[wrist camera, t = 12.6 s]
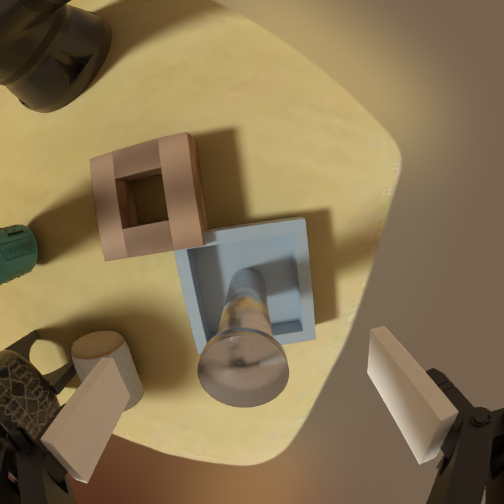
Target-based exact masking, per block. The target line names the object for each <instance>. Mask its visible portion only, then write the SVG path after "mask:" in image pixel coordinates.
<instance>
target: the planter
mask: <svg viewBox="0 0 504 504" xmlns="http://www.w3.org/2000/svg"><path fill="white" fill-rule="evenodd" d="M38 337H39V335H38V334H37V332H36V331H35V330H34V331H33V332H31V333H29V334H28V335H26V336H25V337H23V338H21V339H20V340H18V341H17V342H15V343H14V344H12V345H10V346H9V347H7V348H6V349H4V350H2V351H0V437H2V438H4V439H5V440H6V438H5V437H6V434H7V432H8V431H9V430H10V429H11V428H13V427H15V426H23V427H24V428H25V429H26V430H27V431H28V432H29V434H30V435H31V436H32V438H33V439H34V440H35V439H36V437H37V436H38V435H39V433H40V432H41V431H42V429H43V428H44V426H45V425H46V424H47V422H49V420H50V418H51V417H53V414H54V413H55V412H56V410H57V409H58V408H60V407H61V406H60V403H59V401H58V399H57V394H60V392H61V391H62V390H63V389H64V387H65V386H66V385H67V384H68V383H69V381H70V380H71V379H72V378H73V376H74V375H75V374H76V373H77V371H76V369H75V366H74V363H73V359H72V360H70V361H69V362H68V363H67V364H65V365H64V366H62V367H61V368H59V369H57V370H55V371H53V372H51V373H49V374H46V375H42V374H41V373H40V372H39V371H38V370H37V368H36V367H35V366H34V365H33V364H32V363H31V362H30V359H29V353H30V348H31V346H32V345H33V344H34V343H35V341H36V340H37V339H38ZM6 441H7V440H6ZM7 442H8V441H7ZM8 443H9V442H8ZM9 445H10V443H9ZM10 446H11V445H10Z"/></svg>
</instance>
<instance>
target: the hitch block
mask: <svg viewBox="0 0 504 504" xmlns="http://www.w3.org/2000/svg"><path fill="white" fill-rule="evenodd" d="M90 170H91V180H92V189H93V197H94V204H95V211H96V217H97V223H98V229H99V234H100V240H101V245H102V250H103V254H104V259H105V261H111V260H117V259H123V258H130V257H136V256H142V255H148V254H155V253H161V252H168V251H174V250H181V249H187V248H194V247H201V246H204V245H205V238H204V232H206V231H207V230H208V229H209V227H208V221H207V215H206V208H205V202H204V195H203V189H202V182H201V175H200V168H199V160H198V153H197V145H196V140H195V139H194V138H193V137H191V136H190V135H189V134H188V133H187V132H184V133H179V134H175V135H171V136H166V137H162V138H158V139H154V140H151V141H147V142H143V143H140V144H136V145H133V146H129V147H126V148H123V149H119V150H116V151H113V152H110V153H107V154H104V155H101V156H98V157H95V158H92V159H90ZM159 174H162V178H163V185H164V192H165V199H166V205H167V211H168V218H169V219H167V220H162V221H157V222H151V223H146V224H141V225H139V223H138V217H137V211H136V204H135V197H134V190H133V183H132V181H134V180H138V179H142V178H146V177H150V176H155V175H159Z"/></svg>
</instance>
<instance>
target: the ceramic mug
mask: <svg viewBox="0 0 504 504" xmlns="http://www.w3.org/2000/svg"><path fill="white" fill-rule="evenodd" d="M71 354H72V359H73V363H74V366H75V369H76V371H77V374H78V376H79V379H80V382H81V384H82V382H83V381H84V380H85V378H86V377H87V376H88V375H89V373H90V372H91V371H92V370H93V368H94V367H95V366H96V365H97V363H98V362H99V361H100V360H101V358H113V359H114V361H115V363H116V366H117V368H118V370H119V373H120V375H121V377H122V379H123V382H124V384H125V386H126V388H127V390H128V392H129V394H130V396H131V397H130V399H129V401H128V403H127V405H126V407H125V409H124V410H123V412H124V411H126V410H128V409H130V408H132V407H134V406H135V405H136V404H137V403H138V402H139V401H140V400H141V398H142V396H143V393H144V388H143V385H142V383H141V380H140V378H139V375H138V373H137V370H136V367H135V365H134V362H133V359H132V356H131V353H130V350H129V347H128V345H127V343H126V341H125V339H124V338H123V336H122V335H121V334H119V333H117V332H115V331H110V330H104V331H97V332H93V333H89V334H87V335H84V336H82V337H80V338H79V339H77V340H76V341H75V342H73V343H72V348H71Z"/></svg>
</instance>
